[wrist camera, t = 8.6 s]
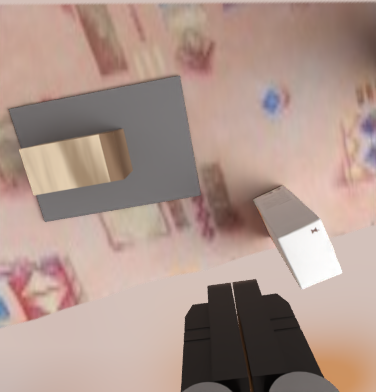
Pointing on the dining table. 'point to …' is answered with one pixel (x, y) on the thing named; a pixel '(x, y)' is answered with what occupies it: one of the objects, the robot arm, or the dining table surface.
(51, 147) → the birch block
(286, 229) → the skincare box
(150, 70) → the dining table surface
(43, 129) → the mat
